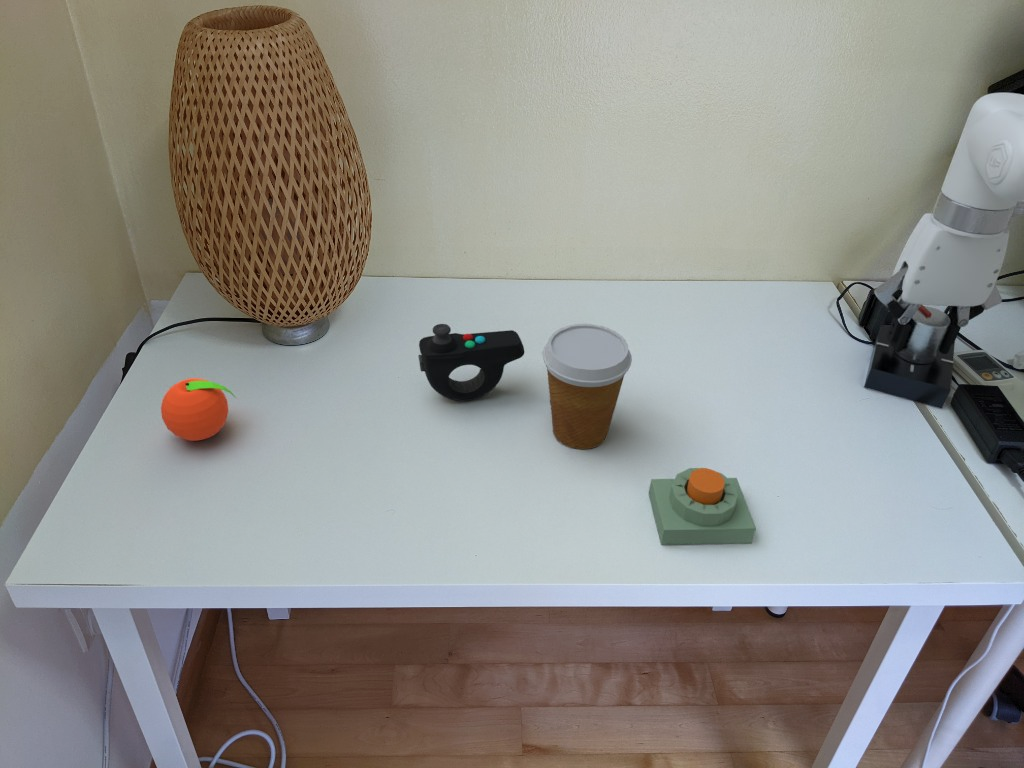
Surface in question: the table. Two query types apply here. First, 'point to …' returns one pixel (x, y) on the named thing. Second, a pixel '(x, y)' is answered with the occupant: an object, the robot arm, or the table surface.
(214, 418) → the clementine
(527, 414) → the table surface
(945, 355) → the dial panel
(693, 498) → the button
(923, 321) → the dial
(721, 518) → the box
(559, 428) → the disposable coffee cup
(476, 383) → the controller
